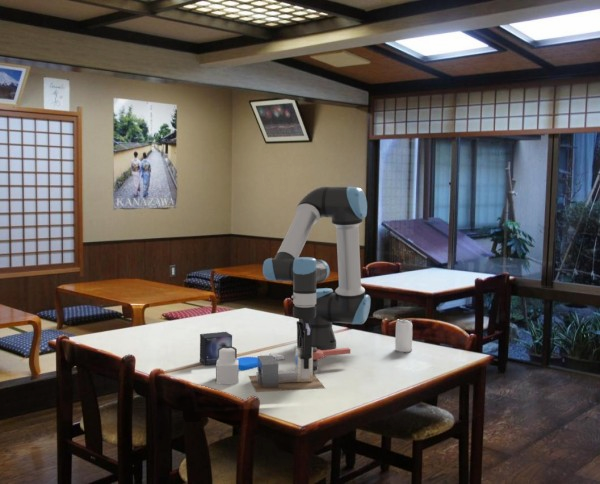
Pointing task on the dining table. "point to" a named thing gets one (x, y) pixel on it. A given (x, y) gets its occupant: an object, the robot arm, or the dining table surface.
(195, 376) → the dining table surface
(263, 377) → the grey block
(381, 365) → the dining table surface
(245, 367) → the spray bottle
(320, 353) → the red t-shaped bar
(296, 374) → the l-shaped bracket
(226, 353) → the medicine bottle
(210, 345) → the small box
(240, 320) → the dining table surface
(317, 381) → the walnut board
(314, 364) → the post
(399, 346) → the can
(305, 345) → the robot arm
